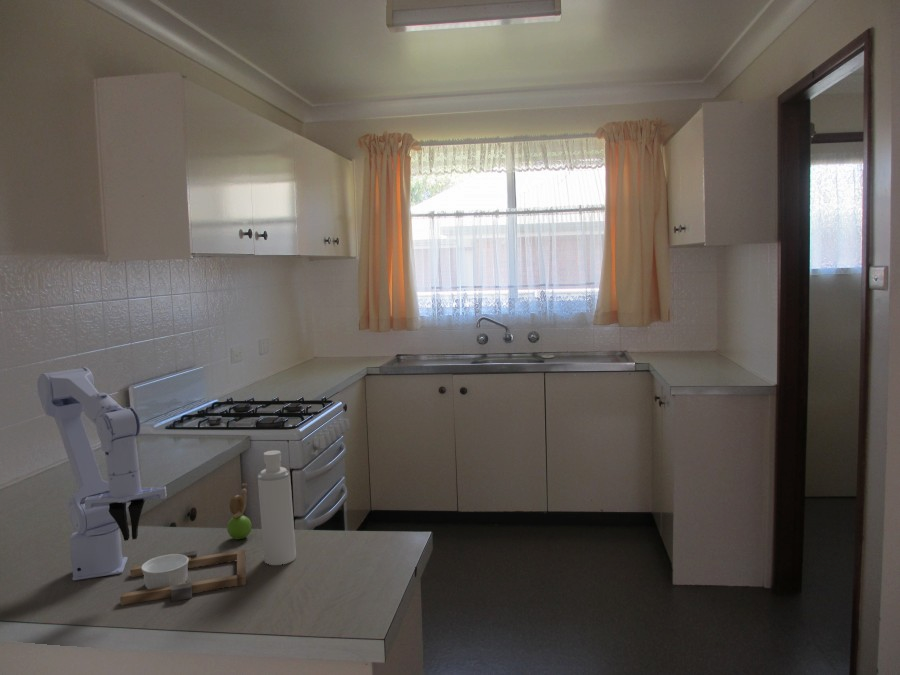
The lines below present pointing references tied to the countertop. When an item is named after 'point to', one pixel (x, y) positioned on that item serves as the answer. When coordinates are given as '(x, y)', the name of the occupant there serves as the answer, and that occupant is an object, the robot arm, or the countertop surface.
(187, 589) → the brown flat frame
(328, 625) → the countertop surface
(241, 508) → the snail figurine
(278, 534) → the white bottle
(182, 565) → the ramekin
